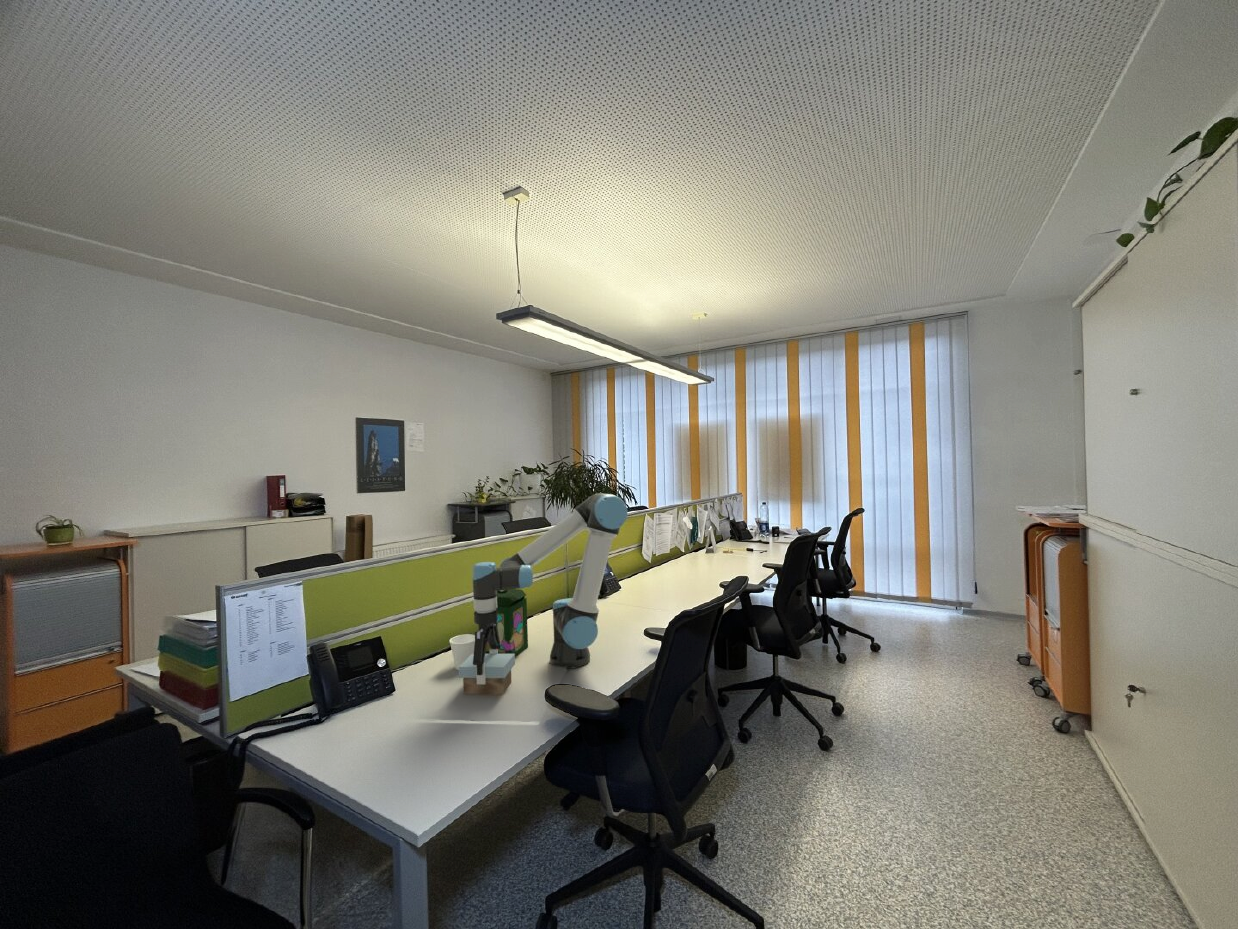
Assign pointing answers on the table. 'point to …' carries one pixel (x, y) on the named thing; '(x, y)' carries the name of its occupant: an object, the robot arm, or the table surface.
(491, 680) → the crate
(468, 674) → the lid
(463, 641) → the cup
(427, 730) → the table surface
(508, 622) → the container
